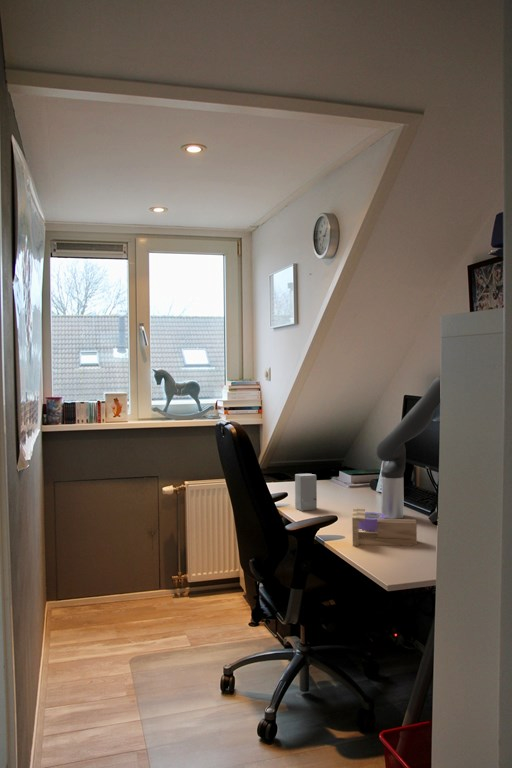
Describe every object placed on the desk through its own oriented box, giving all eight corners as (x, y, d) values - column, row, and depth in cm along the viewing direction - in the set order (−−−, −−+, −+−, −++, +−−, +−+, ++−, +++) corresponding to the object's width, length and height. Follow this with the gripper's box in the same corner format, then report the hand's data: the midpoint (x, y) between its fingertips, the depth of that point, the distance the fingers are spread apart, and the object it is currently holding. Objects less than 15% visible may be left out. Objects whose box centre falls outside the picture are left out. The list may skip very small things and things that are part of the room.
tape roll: (389, 525, 257) (389, 513, 257) (382, 533, 246) (382, 520, 246) (361, 522, 262) (361, 510, 262) (353, 529, 252) (352, 517, 251)
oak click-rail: (353, 535, 244) (353, 508, 243) (409, 536, 240) (409, 510, 239) (352, 545, 230) (352, 518, 229) (412, 547, 226) (411, 519, 226)
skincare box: (301, 511, 282) (300, 476, 281) (294, 508, 288) (293, 473, 288) (318, 509, 285) (317, 474, 284) (310, 506, 292) (310, 472, 291)
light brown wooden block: (377, 539, 238) (377, 518, 237) (415, 540, 235) (415, 519, 235) (377, 543, 233) (377, 522, 232) (416, 544, 230) (416, 523, 230)
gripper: (454, 476, 236) (421, 508, 238) (459, 483, 223) (424, 517, 225) (469, 491, 235) (435, 523, 237) (475, 498, 222) (439, 532, 224)
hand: (430, 520), depth 231 cm, fingers closed
